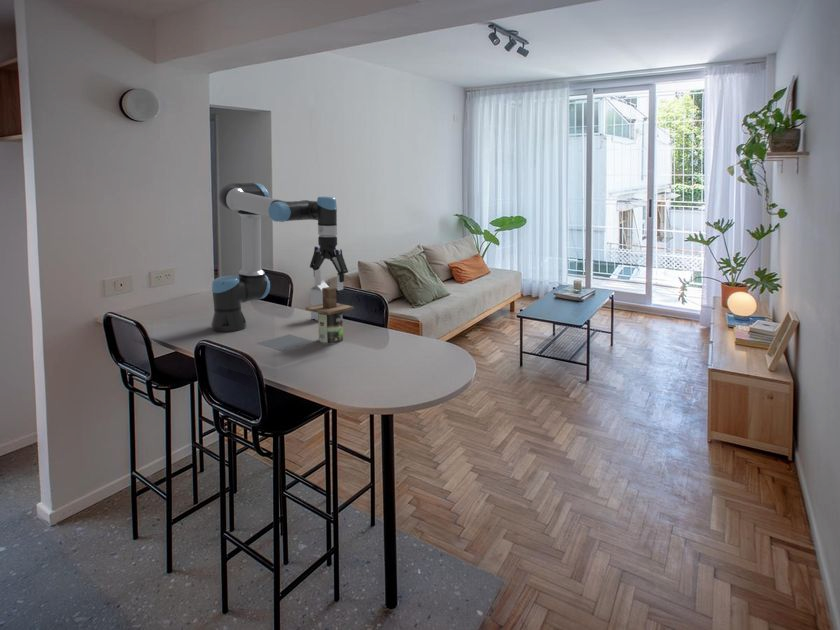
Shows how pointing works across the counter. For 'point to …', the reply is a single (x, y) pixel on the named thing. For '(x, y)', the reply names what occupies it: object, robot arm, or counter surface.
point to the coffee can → (330, 328)
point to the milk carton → (317, 297)
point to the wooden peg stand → (329, 303)
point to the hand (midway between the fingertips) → (328, 287)
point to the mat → (286, 342)
